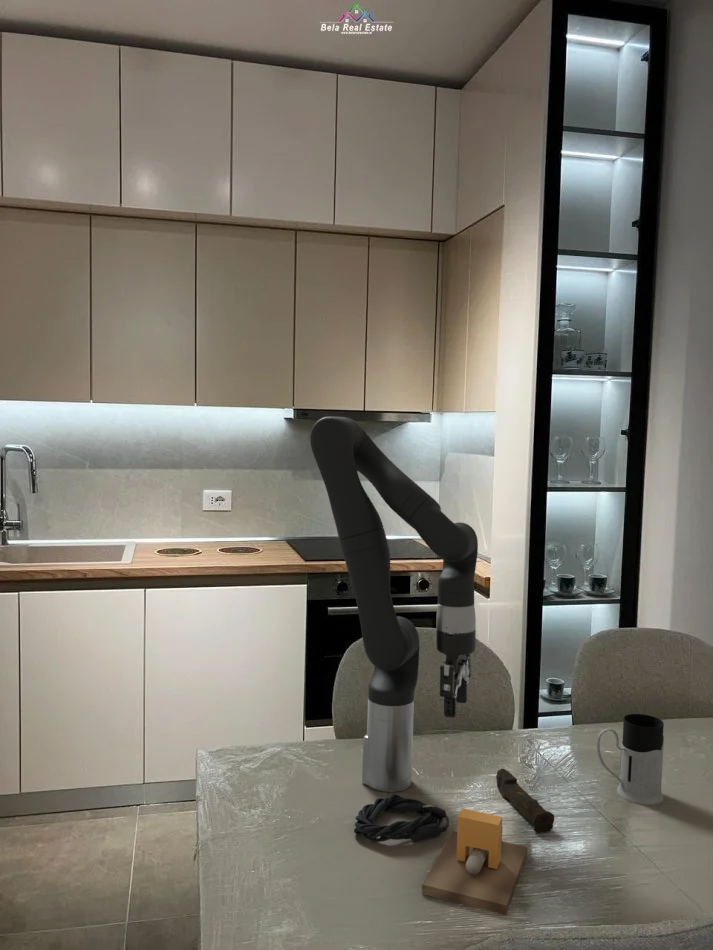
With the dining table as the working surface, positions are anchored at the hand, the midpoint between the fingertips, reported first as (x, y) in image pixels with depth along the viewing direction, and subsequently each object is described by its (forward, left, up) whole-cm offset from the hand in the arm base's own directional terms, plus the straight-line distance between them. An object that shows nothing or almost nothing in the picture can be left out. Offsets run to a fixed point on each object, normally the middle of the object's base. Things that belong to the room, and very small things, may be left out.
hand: (455, 709), depth 154 cm
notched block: (+11, -24, -15) cm, 30 cm away
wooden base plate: (+11, -25, -17) cm, 32 cm away
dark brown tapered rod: (+13, 0, -18) cm, 22 cm away
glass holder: (+32, +15, -17) cm, 39 cm away
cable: (-6, -16, -18) cm, 25 cm away
